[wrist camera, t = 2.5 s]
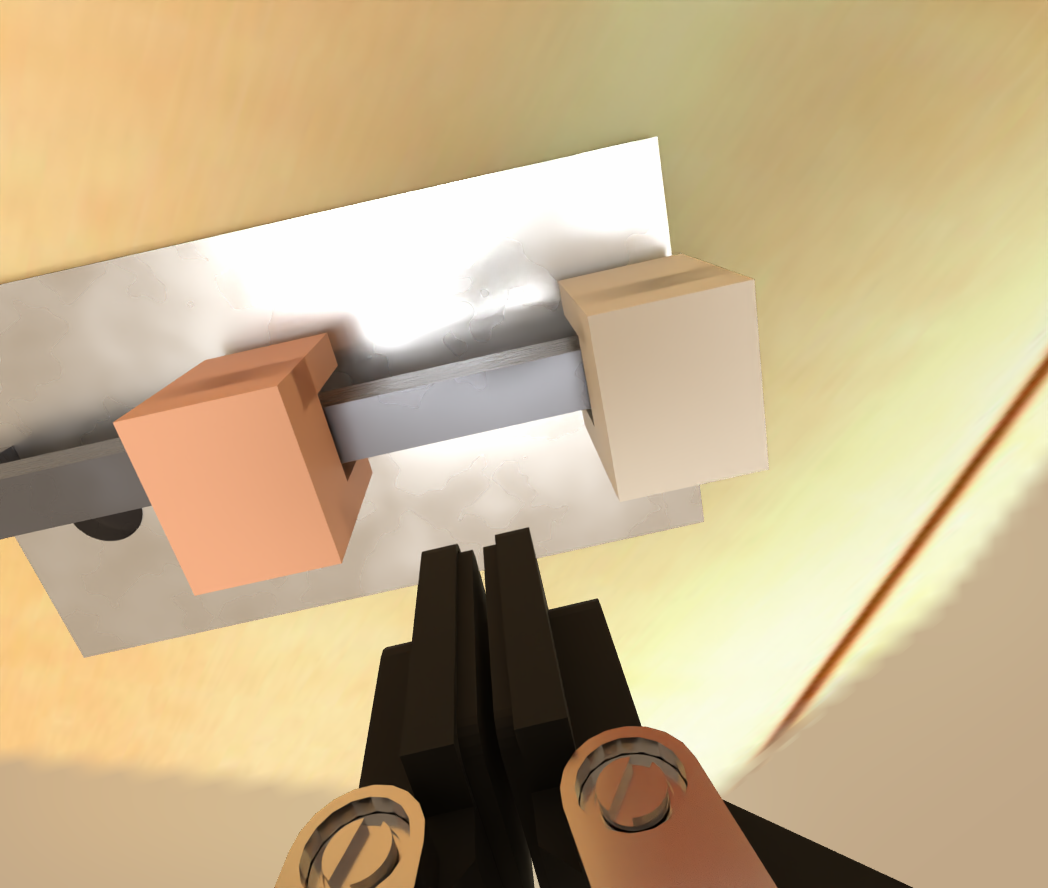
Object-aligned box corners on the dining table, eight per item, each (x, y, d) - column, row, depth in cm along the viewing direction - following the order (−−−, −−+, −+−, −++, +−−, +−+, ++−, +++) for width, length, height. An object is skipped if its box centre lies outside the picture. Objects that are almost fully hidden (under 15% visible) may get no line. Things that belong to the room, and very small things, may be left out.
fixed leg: (671, 249, 22) (754, 279, 16) (688, 390, 24) (768, 469, 18) (553, 276, 22) (587, 316, 16) (580, 414, 24) (619, 502, 18)
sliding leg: (332, 327, 22) (276, 385, 16) (375, 463, 24) (342, 563, 18) (214, 353, 22) (112, 422, 16) (267, 487, 24) (194, 596, 18)
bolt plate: (649, 137, 22) (657, 136, 21) (695, 509, 27) (704, 522, 26) (-90, 304, 22) (-116, 311, 21) (97, 641, 27) (83, 658, 26)
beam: (676, 296, 23) (716, 319, 19) (683, 347, 24) (722, 379, 20) (-32, 455, 23) (-128, 508, 19) (-6, 500, 24) (-94, 559, 20)
